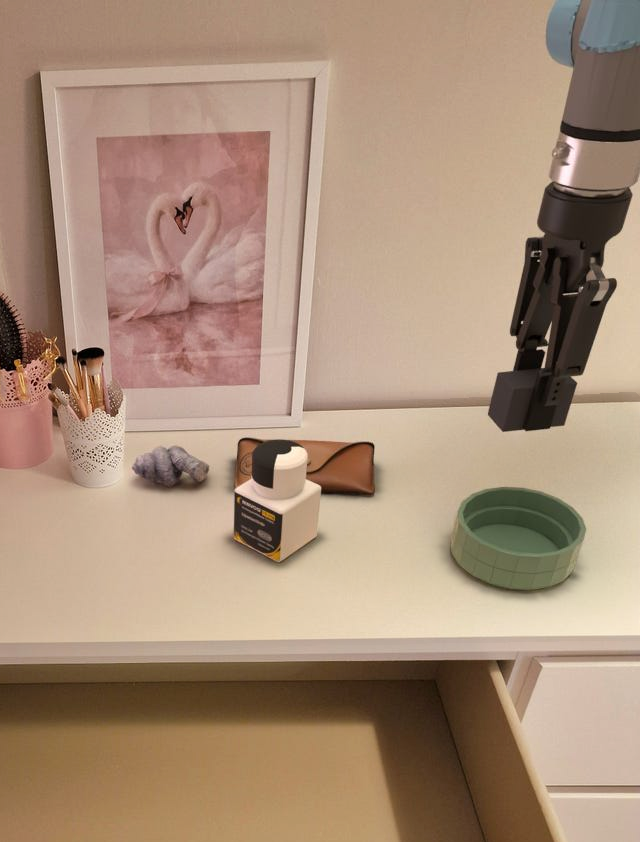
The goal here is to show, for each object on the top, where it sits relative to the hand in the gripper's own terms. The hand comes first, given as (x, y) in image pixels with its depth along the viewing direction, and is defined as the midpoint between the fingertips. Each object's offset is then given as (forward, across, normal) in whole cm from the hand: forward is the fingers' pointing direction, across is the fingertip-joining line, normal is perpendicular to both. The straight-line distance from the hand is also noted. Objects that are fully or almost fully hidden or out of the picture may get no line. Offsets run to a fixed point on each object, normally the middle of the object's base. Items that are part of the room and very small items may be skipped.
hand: (526, 417), depth 95 cm
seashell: (+14, -16, -37) cm, 43 cm away
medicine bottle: (+14, -1, -27) cm, 30 cm away
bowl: (+13, +7, -2) cm, 15 cm away
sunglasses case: (+13, -13, -20) cm, 28 cm away
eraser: (0, 0, 0) cm, 0 cm away
